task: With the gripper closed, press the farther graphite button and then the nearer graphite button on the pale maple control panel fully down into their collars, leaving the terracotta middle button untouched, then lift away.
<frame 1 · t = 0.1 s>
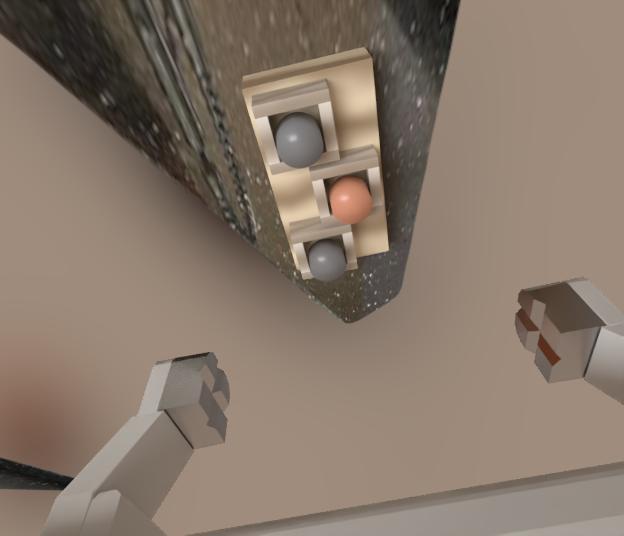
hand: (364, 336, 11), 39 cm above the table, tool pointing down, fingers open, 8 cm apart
button 1: (299, 140, 39), point 8 cm above the table, slide at 0.0 cm
middle button: (350, 199, 44), point 8 cm above the table, slide at 0.0 cm
control panel: (323, 167, 50), on the table
button 2: (326, 260, 50), point 8 cm above the table, slide at 0.0 cm
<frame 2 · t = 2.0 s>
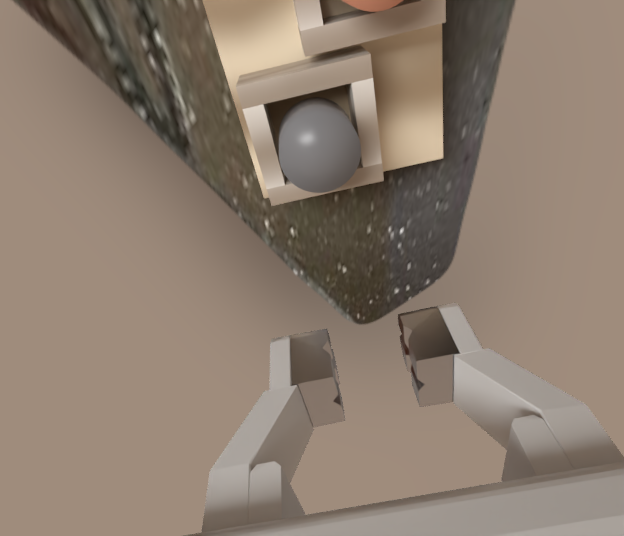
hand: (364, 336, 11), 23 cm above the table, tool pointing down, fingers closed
button 2: (317, 145, 23), point 8 cm above the table, slide at 0.0 cm
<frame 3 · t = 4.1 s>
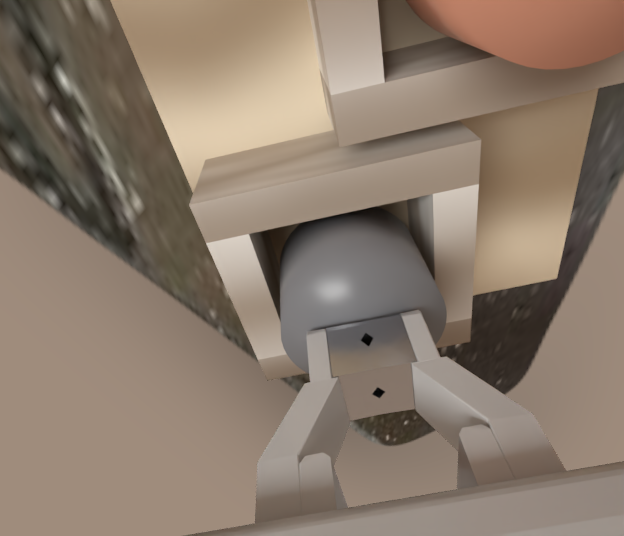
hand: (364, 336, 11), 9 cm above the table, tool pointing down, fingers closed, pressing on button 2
button 2: (354, 294, 12), point 7 cm above the table, slide at 0.9 cm, touching gripper
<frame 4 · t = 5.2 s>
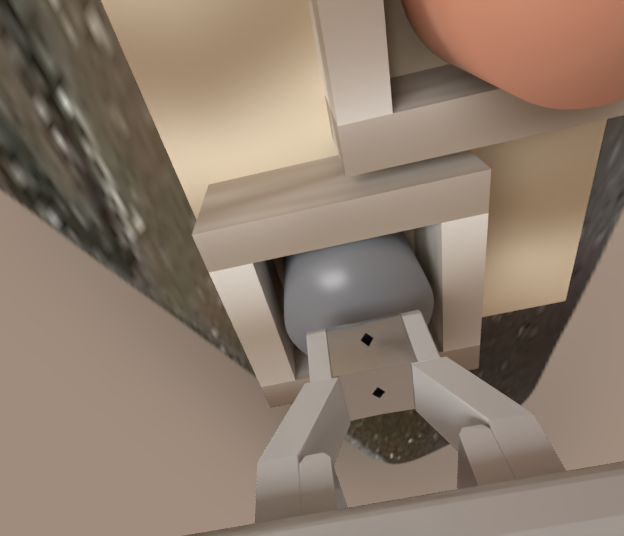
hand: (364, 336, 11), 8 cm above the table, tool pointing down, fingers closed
button 2: (351, 284, 13), point 6 cm above the table, slide at 2.7 cm
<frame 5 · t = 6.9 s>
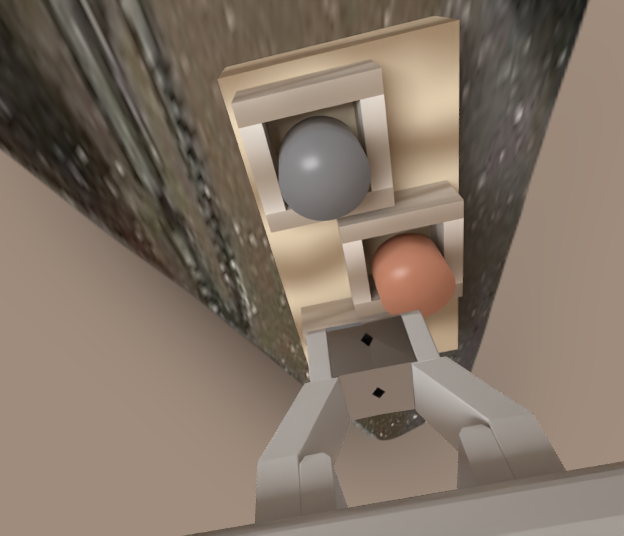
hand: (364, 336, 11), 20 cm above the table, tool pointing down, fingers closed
button 1: (322, 168, 20), point 8 cm above the table, slide at 0.0 cm
middle button: (410, 276, 25), point 8 cm above the table, slide at 0.0 cm
control panel: (357, 219, 31), on the table
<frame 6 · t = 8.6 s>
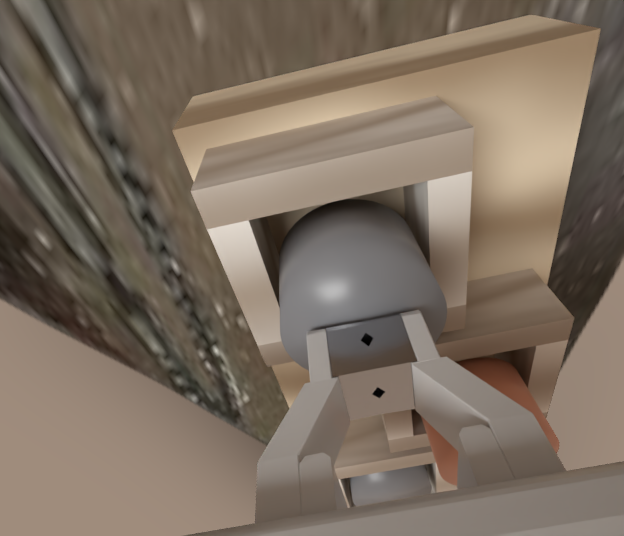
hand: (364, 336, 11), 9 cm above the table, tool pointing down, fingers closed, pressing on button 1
button 1: (354, 290, 12), point 8 cm above the table, slide at 0.4 cm, touching gripper
middle button: (481, 423, 16), point 8 cm above the table, slide at 0.0 cm
control panel: (386, 296, 23), on the table
button 2: (386, 467, 23), point 6 cm above the table, slide at 2.7 cm
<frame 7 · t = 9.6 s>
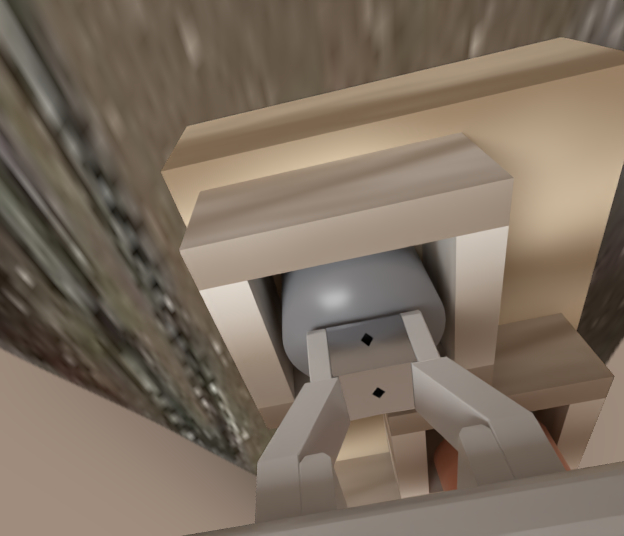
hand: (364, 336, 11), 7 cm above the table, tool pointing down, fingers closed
button 1: (355, 298, 12), point 6 cm above the table, slide at 2.7 cm
middle button: (507, 488, 14), point 8 cm above the table, slide at 0.0 cm
control panel: (396, 332, 21), on the table
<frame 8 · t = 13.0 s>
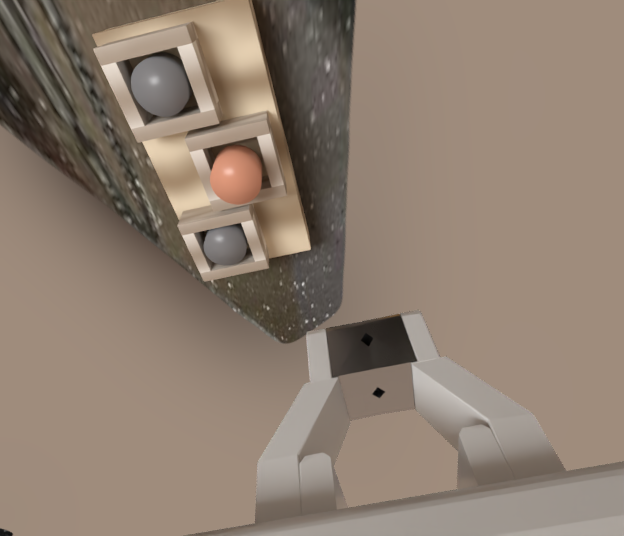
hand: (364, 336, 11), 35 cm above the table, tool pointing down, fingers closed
button 1: (163, 84, 33), point 6 cm above the table, slide at 2.7 cm
middle button: (237, 174, 36), point 8 cm above the table, slide at 0.0 cm
control panel: (225, 147, 43), on the table
button 2: (226, 240, 43), point 6 cm above the table, slide at 2.7 cm
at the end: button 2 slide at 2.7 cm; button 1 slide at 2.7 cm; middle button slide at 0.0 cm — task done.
